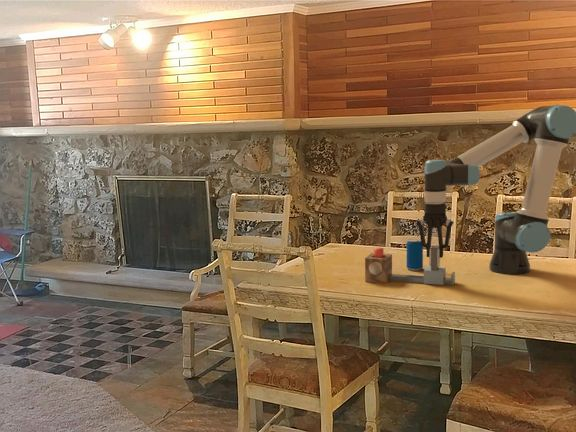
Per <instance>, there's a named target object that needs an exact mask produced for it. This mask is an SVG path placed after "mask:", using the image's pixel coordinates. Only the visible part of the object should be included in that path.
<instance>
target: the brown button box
mask: <svg viewBox="0 0 576 432" xmlns="http://www.w3.org/2000/svg"><path fill="white" fill-rule="evenodd" d="M383 256H384V258H378V257H374V252H371V253H370V254H369V255H367V256H366V257H365V258H364V267H365V268H364V269H365V274H364V276H365V278H364V280H365V283H379V284H380V283H381V284H387V283H388V282H389V281H388V276H389V274H393V254H392V253H383Z"/></svg>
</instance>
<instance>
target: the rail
mask: <svg viewBox="0 0 576 432" xmlns="http://www.w3.org/2000/svg"><path fill="white" fill-rule="evenodd" d="M388 282H401V283H414V284H415V283H416V284H424V275H415V274H414V275H412V274H397V273H392V274H389V276H388ZM455 283H456V272H455V271H452V273H451V275H450V277H447V276H445V277H444V285H443V286H451V287H453V286H454V285H455Z"/></svg>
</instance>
